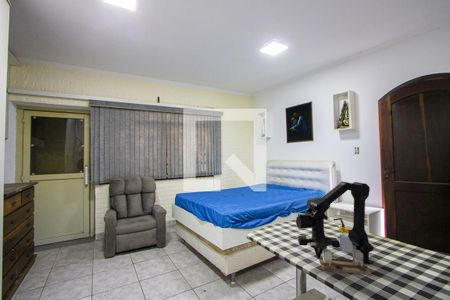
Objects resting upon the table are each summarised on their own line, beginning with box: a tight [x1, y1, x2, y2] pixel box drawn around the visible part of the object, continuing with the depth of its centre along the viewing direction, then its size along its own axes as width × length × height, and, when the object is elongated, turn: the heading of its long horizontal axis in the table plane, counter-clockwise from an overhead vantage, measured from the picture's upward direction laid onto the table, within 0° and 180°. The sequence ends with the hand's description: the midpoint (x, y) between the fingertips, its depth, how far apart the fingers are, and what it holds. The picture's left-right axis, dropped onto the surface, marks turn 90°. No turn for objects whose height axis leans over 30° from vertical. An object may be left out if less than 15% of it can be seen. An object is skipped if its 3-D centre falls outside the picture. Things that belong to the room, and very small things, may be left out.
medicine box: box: [339, 232, 356, 255], centre depth 121 cm, size 8×4×9 cm, turn 27°
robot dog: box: [333, 217, 352, 234], centre depth 134 cm, size 6×18×13 cm, turn 29°
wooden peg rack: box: [318, 250, 372, 275], centre depth 104 cm, size 9×20×7 cm, turn 80°
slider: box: [322, 247, 333, 266], centre depth 106 cm, size 7×3×6 cm, turn 170°
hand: (318, 258), depth 108 cm, fingers closed
